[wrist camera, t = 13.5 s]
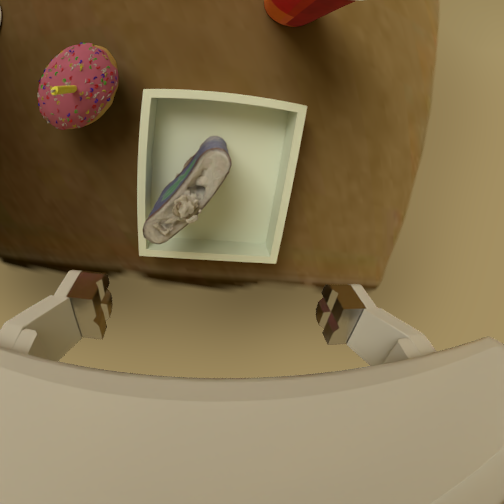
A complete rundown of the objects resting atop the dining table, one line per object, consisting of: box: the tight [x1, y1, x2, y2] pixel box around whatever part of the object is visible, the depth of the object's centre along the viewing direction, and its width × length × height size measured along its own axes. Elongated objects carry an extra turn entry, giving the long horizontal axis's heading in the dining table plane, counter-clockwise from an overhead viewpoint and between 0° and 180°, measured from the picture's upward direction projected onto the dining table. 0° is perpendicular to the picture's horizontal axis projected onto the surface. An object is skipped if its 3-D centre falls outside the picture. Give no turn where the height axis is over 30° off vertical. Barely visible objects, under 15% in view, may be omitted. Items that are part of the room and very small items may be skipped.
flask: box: [143, 136, 232, 244], centre depth 23 cm, size 9×3×11 cm, turn 136°
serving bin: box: [137, 89, 307, 264], centre depth 27 cm, size 15×17×4 cm
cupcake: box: [37, 43, 118, 130], centre depth 17 cm, size 9×8×12 cm
